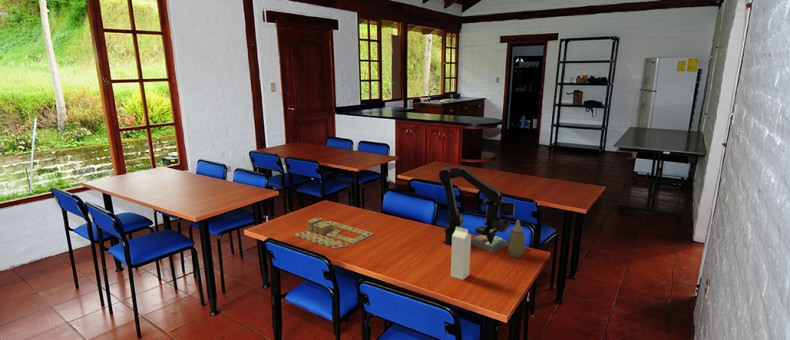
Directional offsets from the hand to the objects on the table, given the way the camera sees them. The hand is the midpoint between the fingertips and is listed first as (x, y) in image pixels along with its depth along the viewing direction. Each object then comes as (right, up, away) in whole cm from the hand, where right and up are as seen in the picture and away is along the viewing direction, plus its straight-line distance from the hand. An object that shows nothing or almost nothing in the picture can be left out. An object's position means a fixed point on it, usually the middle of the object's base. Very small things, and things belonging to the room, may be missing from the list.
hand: (490, 243), depth 211 cm
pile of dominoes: (-81, +1, +18) cm, 83 cm away
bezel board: (0, -2, +5) cm, 5 cm away
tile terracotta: (-4, 0, +5) cm, 6 cm away
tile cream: (0, -2, 0) cm, 2 cm away
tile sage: (0, +1, +8) cm, 8 cm away
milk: (-19, -10, -27) cm, 35 cm away
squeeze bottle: (+10, -5, -7) cm, 13 cm away
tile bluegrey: (+4, 0, +3) cm, 5 cm away
